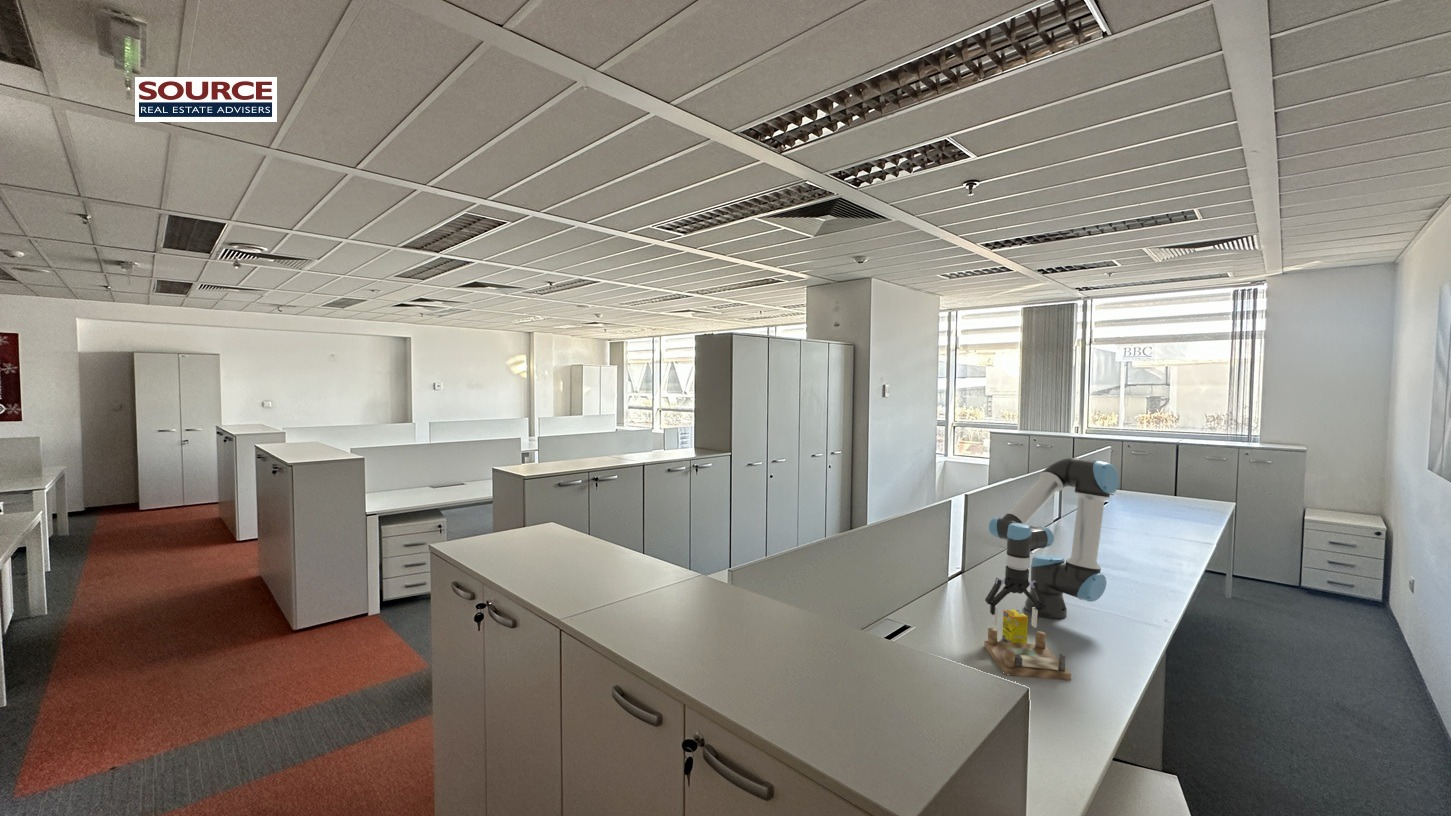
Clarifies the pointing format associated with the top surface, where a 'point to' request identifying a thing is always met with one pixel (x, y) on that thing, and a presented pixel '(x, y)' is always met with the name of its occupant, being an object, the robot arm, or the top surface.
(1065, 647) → the top surface
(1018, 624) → the supplement box
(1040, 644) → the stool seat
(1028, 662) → the stool leg
